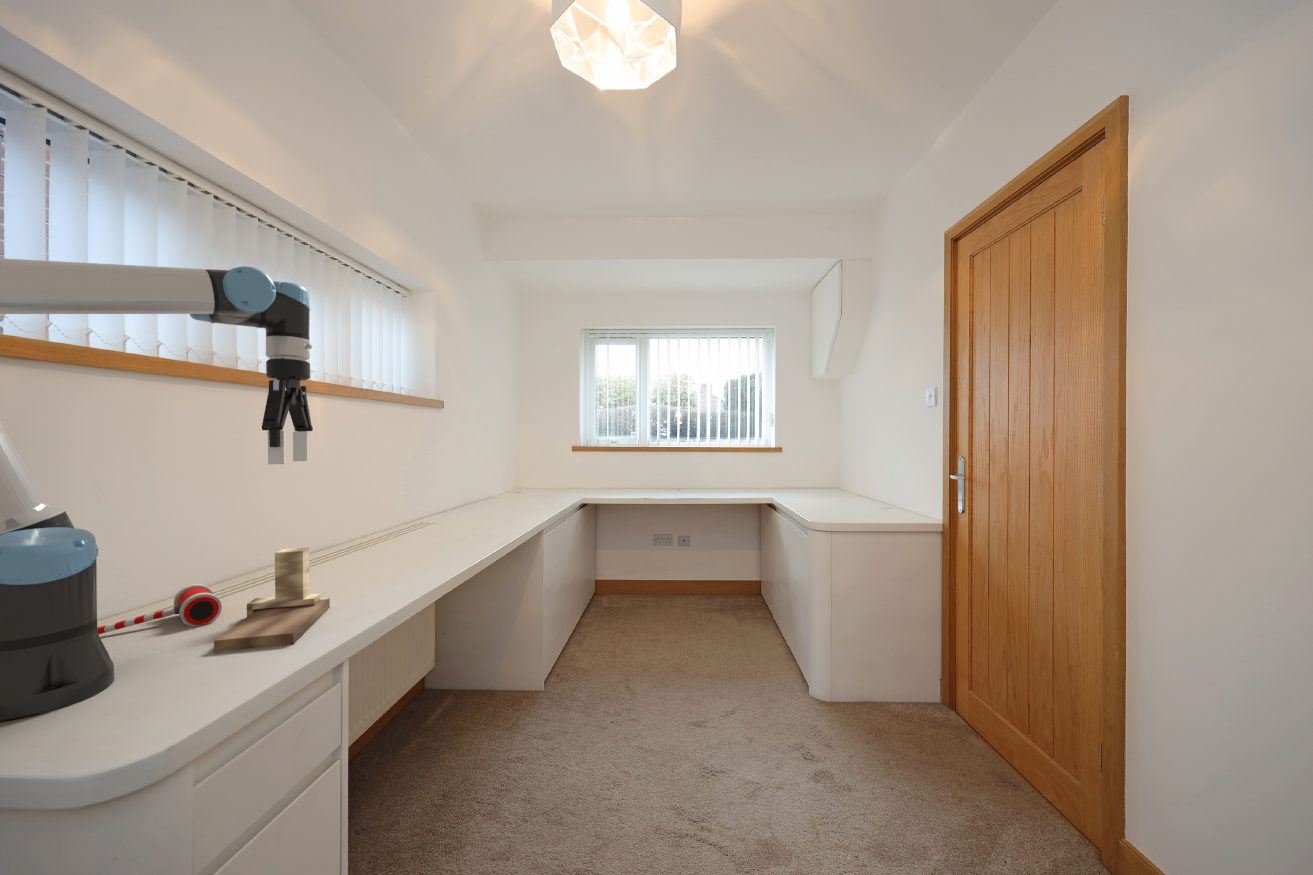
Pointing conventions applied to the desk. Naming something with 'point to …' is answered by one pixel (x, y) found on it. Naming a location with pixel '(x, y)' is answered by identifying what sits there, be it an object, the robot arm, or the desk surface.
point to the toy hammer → (180, 609)
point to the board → (271, 627)
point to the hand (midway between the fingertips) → (289, 462)
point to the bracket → (288, 582)
